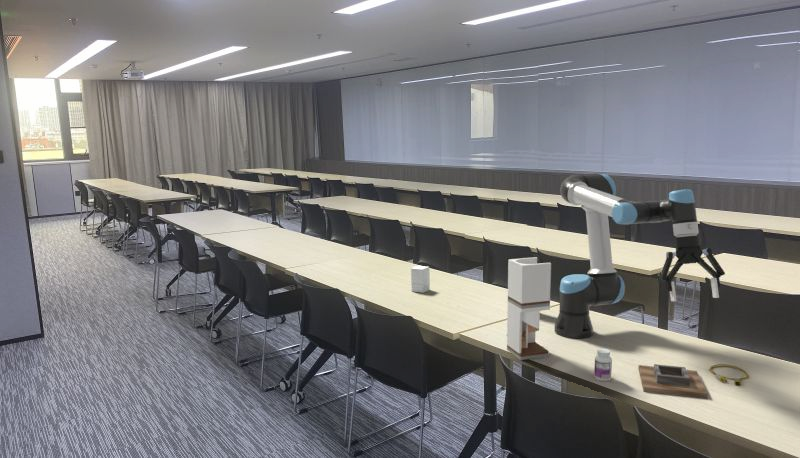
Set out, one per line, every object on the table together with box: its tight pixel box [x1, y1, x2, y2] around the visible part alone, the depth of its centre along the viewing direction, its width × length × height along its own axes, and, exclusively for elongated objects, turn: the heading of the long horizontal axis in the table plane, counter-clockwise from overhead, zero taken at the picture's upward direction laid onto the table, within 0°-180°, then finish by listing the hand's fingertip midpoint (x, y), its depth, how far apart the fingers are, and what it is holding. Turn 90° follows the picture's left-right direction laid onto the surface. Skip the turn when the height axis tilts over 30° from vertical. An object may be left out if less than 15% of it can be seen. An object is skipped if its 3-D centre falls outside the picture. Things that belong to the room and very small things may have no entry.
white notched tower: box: [506, 256, 552, 361], centre depth 210 cm, size 11×11×35 cm
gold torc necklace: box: [708, 363, 749, 387], centre depth 191 cm, size 12×16×2 cm
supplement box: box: [410, 265, 431, 294], centre depth 300 cm, size 7×7×13 cm
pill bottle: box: [593, 348, 613, 382], centre depth 190 cm, size 5×5×10 cm
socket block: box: [638, 363, 708, 399], centre depth 186 cm, size 18×18×4 cm
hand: (694, 299), depth 190 cm, fingers open, 13 cm apart
